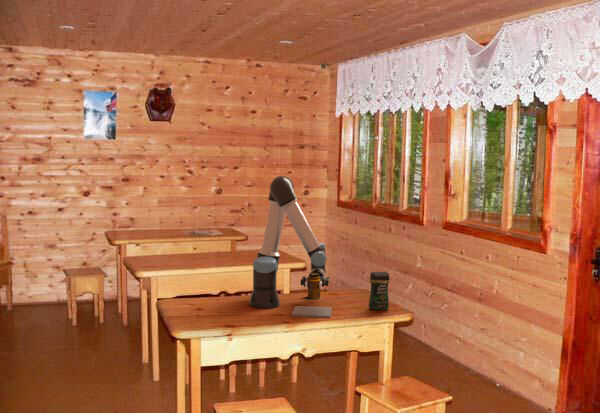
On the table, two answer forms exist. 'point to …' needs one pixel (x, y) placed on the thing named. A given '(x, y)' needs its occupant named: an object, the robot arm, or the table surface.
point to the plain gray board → (312, 311)
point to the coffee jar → (379, 291)
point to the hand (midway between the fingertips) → (313, 286)
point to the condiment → (313, 287)
